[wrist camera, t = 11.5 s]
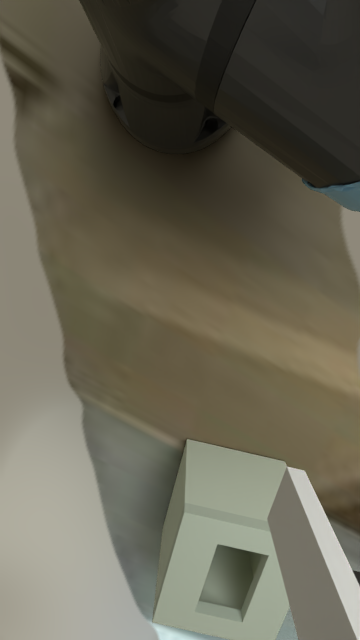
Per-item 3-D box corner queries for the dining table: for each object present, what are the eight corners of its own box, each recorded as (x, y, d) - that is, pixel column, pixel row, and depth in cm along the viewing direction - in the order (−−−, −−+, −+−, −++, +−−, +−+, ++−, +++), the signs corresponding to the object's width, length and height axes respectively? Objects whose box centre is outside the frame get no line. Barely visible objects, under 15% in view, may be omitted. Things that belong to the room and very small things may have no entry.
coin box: (187, 439, 43) (184, 512, 32) (285, 461, 43) (318, 542, 32) (162, 528, 47) (152, 622, 36) (252, 548, 47) (271, 648, 36)
